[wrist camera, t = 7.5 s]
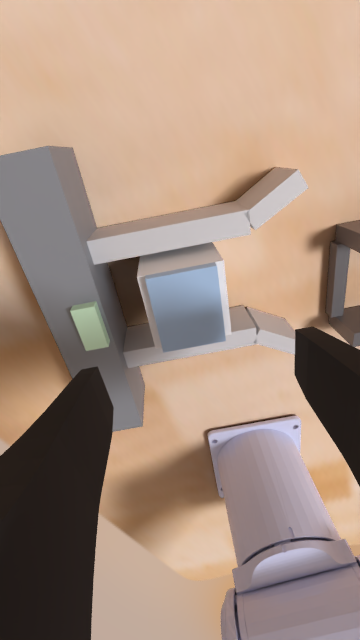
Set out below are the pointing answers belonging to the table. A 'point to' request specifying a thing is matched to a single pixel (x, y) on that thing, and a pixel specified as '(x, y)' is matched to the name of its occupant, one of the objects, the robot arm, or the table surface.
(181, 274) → the plug
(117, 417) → the grey forked block
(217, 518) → the table surface
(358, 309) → the gray vise
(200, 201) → the table surface
